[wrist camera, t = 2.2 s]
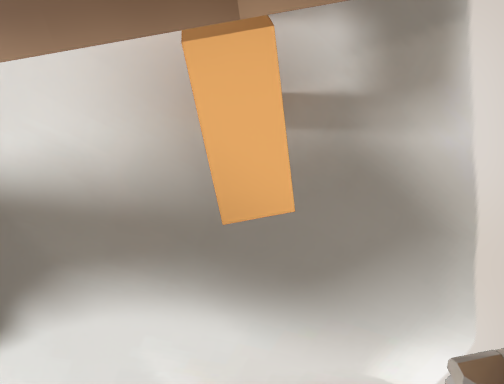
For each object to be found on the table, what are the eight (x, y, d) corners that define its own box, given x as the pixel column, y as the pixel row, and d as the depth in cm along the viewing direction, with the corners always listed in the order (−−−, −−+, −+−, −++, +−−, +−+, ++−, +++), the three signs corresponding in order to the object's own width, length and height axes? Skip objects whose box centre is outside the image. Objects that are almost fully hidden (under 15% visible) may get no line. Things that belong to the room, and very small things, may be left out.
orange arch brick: (264, 118, 36) (295, 211, 26) (212, 128, 36) (222, 224, 26) (244, -24, 30) (273, 25, 20) (182, -13, 30) (181, 42, 20)
